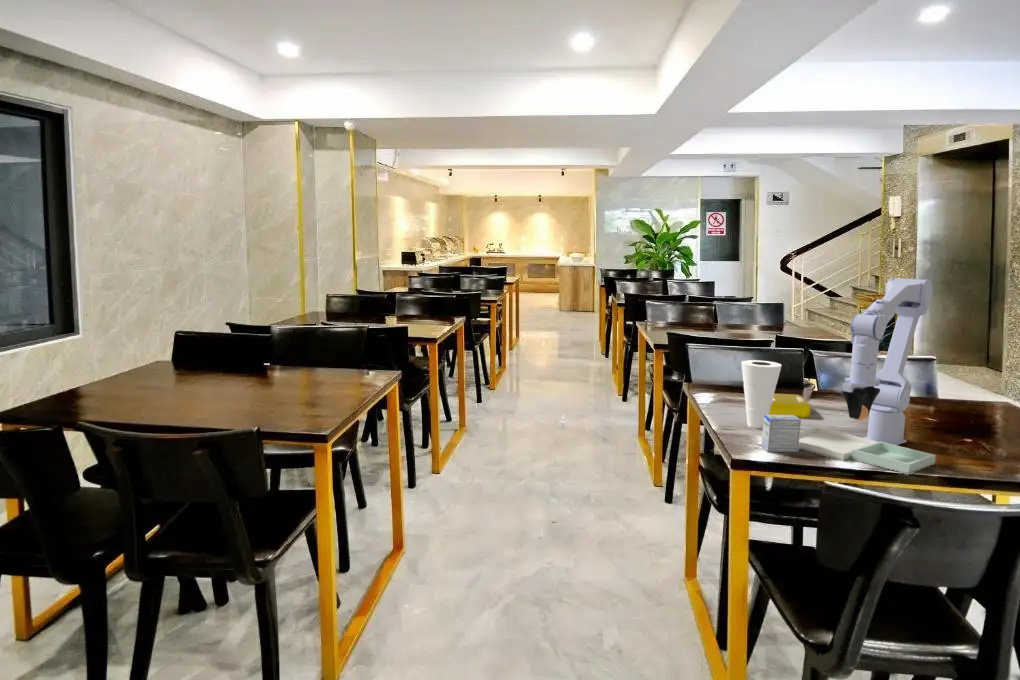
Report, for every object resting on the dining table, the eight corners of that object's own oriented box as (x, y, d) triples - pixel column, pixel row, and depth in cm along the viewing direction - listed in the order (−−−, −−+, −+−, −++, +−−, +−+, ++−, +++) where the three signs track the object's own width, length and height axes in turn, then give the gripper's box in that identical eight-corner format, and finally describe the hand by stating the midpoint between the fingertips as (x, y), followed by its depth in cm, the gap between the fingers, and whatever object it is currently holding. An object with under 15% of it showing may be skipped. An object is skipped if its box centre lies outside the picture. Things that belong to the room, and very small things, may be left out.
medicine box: (791, 447, 188) (794, 414, 187) (798, 453, 184) (801, 419, 183) (760, 447, 188) (763, 414, 187) (767, 452, 184) (770, 418, 183)
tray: (814, 432, 203) (815, 426, 203) (880, 449, 189) (880, 442, 189) (776, 442, 192) (777, 436, 192) (843, 461, 178) (843, 453, 178)
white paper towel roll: (779, 432, 202) (784, 368, 200) (738, 429, 204) (743, 365, 202) (773, 422, 213) (778, 361, 210) (735, 420, 215) (739, 359, 212)
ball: (855, 417, 186) (856, 401, 185) (870, 420, 183) (872, 405, 182) (846, 419, 184) (848, 403, 183) (862, 423, 181) (863, 407, 180)
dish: (878, 450, 187) (879, 441, 187) (934, 465, 177) (935, 454, 177) (851, 459, 179) (852, 449, 179) (908, 475, 169) (909, 464, 168)
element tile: (811, 419, 219) (812, 404, 218) (758, 416, 221) (759, 401, 221) (800, 408, 234) (801, 393, 233) (750, 405, 236) (752, 390, 235)
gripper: (862, 357, 189) (857, 409, 191) (833, 363, 180) (828, 417, 182) (890, 362, 183) (884, 415, 185) (861, 368, 174) (856, 423, 176)
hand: (858, 416), depth 183 cm, fingers closed on ball, 4 cm apart
